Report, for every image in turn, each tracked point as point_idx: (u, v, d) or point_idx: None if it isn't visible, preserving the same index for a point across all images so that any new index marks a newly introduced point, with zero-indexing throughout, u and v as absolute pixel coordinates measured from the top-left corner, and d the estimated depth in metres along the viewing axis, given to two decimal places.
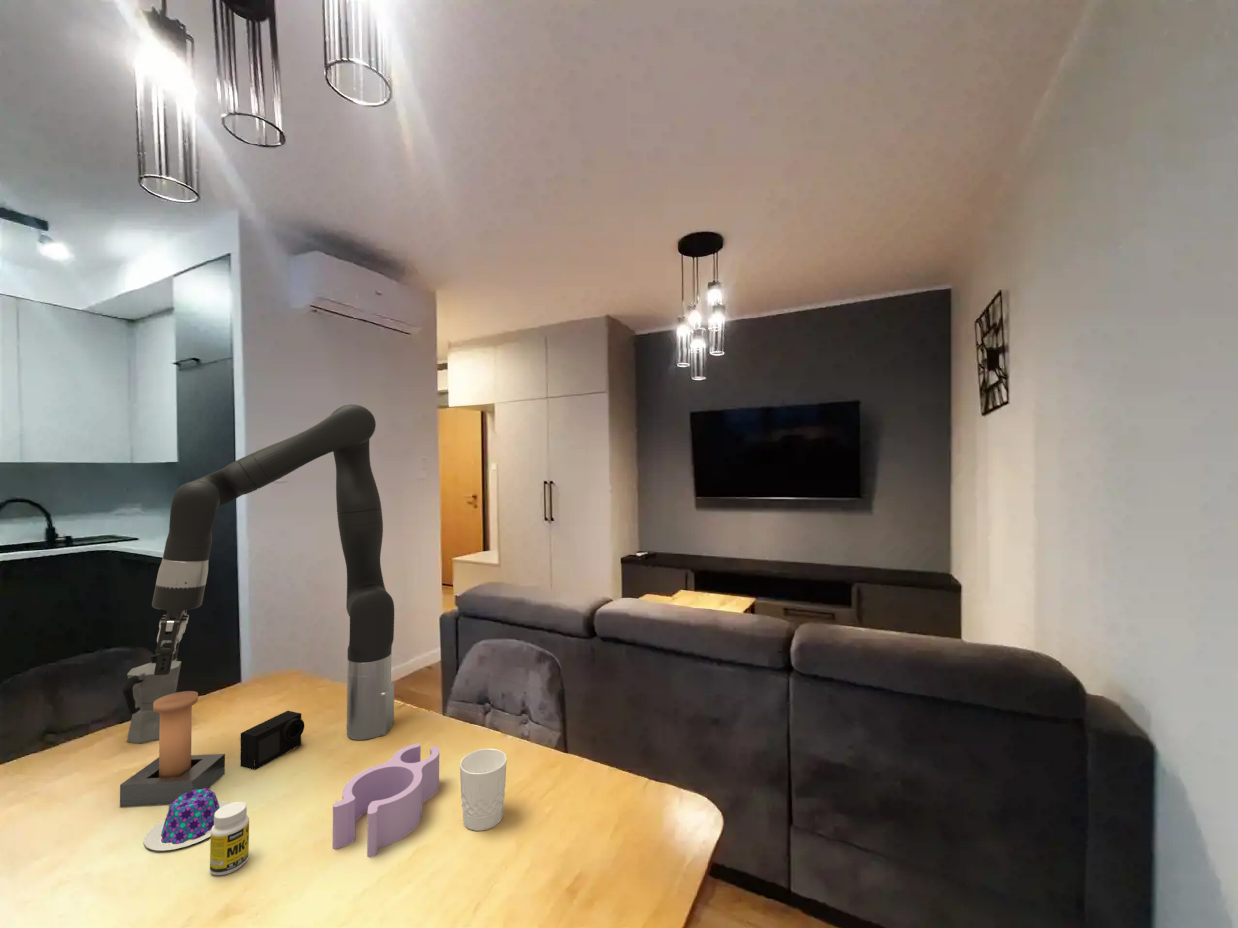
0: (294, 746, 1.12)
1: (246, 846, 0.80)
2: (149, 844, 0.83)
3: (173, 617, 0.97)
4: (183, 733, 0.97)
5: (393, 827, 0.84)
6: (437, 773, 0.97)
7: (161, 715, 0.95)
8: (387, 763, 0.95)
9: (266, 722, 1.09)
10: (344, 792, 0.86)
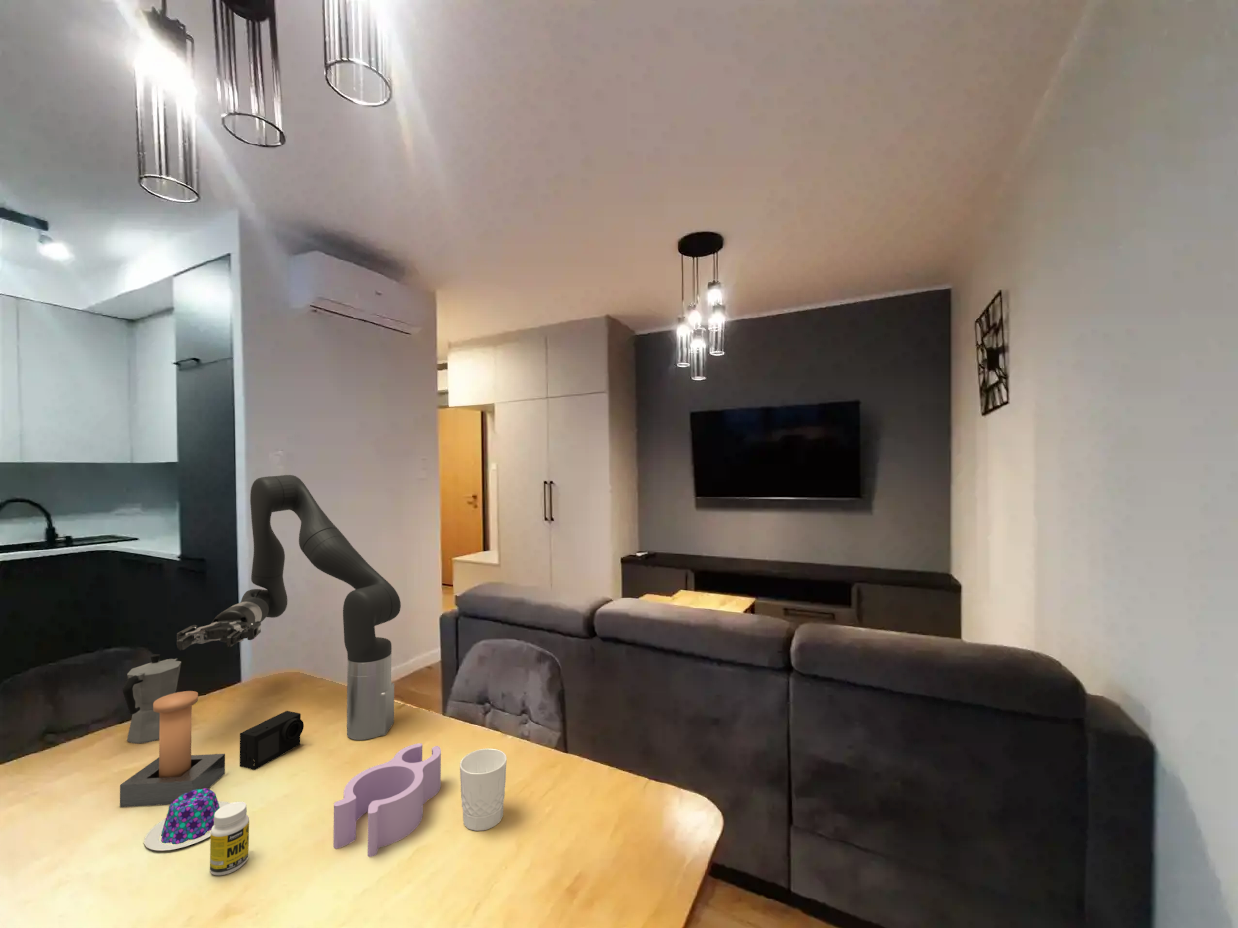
0: (293, 746, 1.12)
1: (246, 846, 0.80)
2: (149, 844, 0.83)
3: None
4: (183, 733, 0.97)
5: (394, 827, 0.84)
6: (438, 773, 0.97)
7: (161, 715, 0.95)
8: (389, 763, 0.95)
9: (266, 722, 1.09)
10: (345, 791, 0.86)
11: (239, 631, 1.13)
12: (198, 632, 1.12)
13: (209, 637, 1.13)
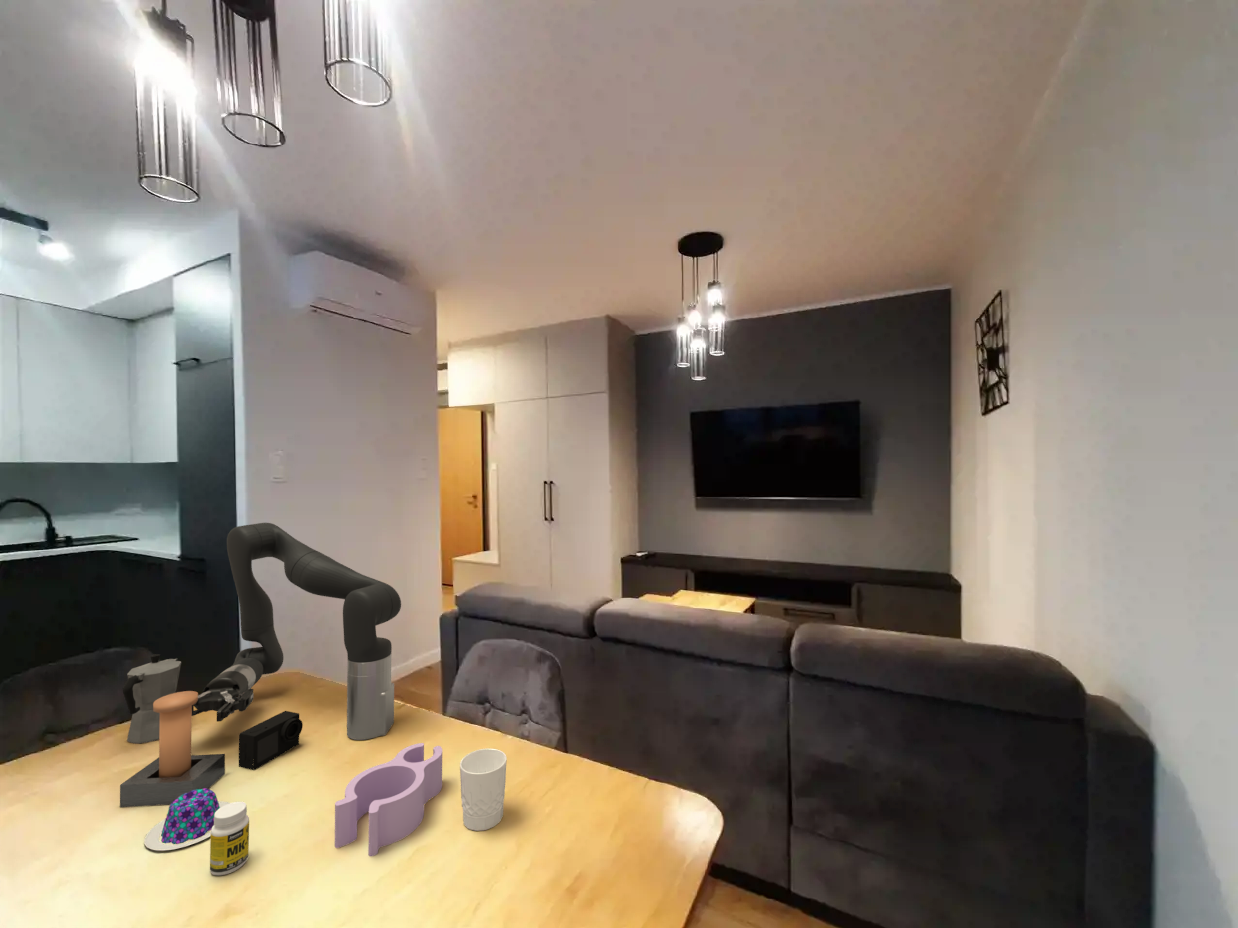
0: (292, 746, 1.12)
1: (246, 846, 0.80)
2: (149, 844, 0.83)
3: None
4: (183, 733, 0.97)
5: (394, 827, 0.84)
6: (440, 773, 0.97)
7: (161, 715, 0.95)
8: (390, 762, 0.95)
9: (265, 722, 1.09)
10: (346, 791, 0.86)
11: (230, 703, 1.09)
12: None
13: (199, 709, 1.09)
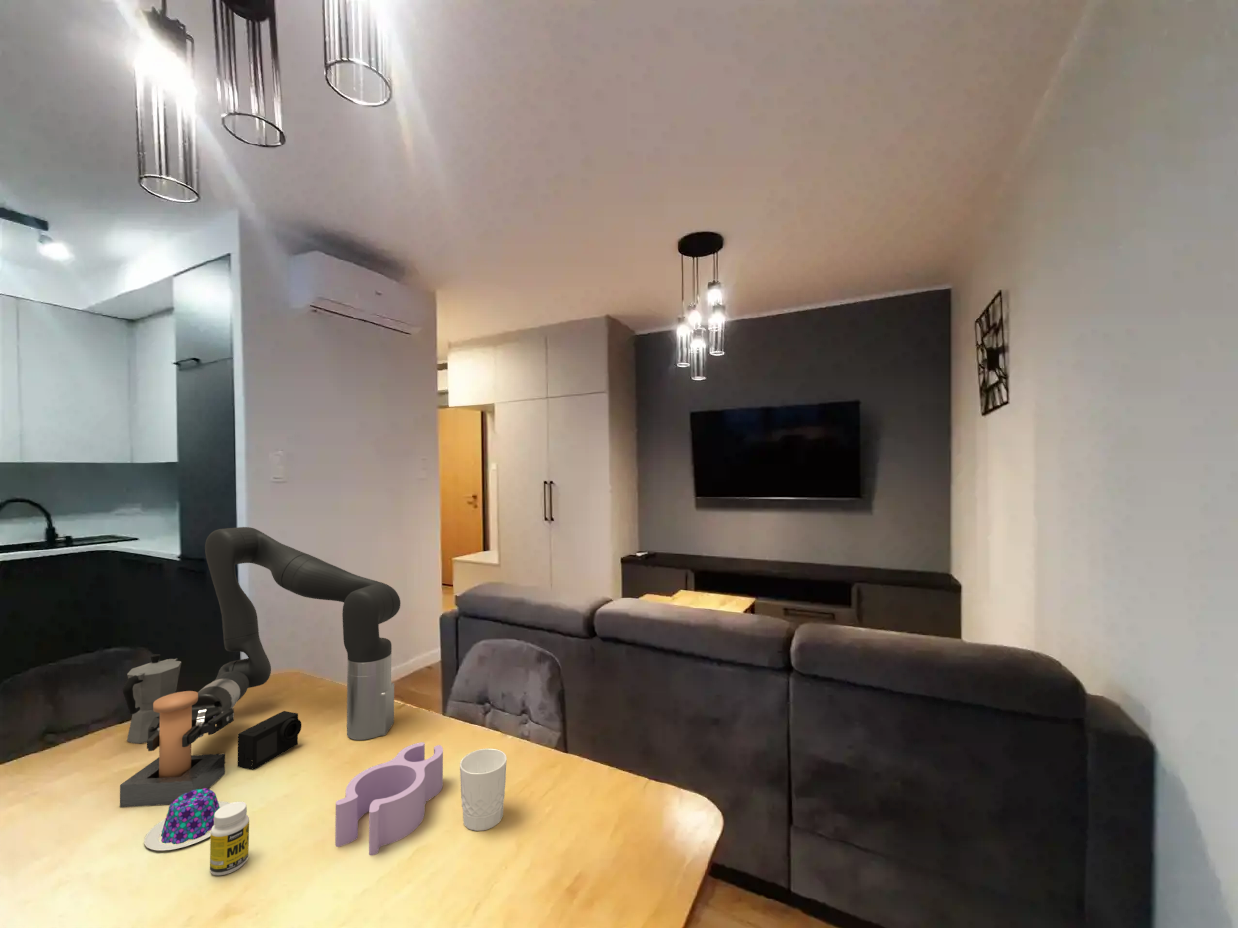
0: (291, 746, 1.12)
1: (246, 846, 0.80)
2: (149, 844, 0.83)
3: None
4: (183, 733, 0.97)
5: (395, 826, 0.84)
6: (440, 772, 0.97)
7: (161, 715, 0.95)
8: (391, 761, 0.95)
9: (263, 722, 1.09)
10: (347, 790, 0.87)
11: (197, 726, 0.99)
12: None
13: None
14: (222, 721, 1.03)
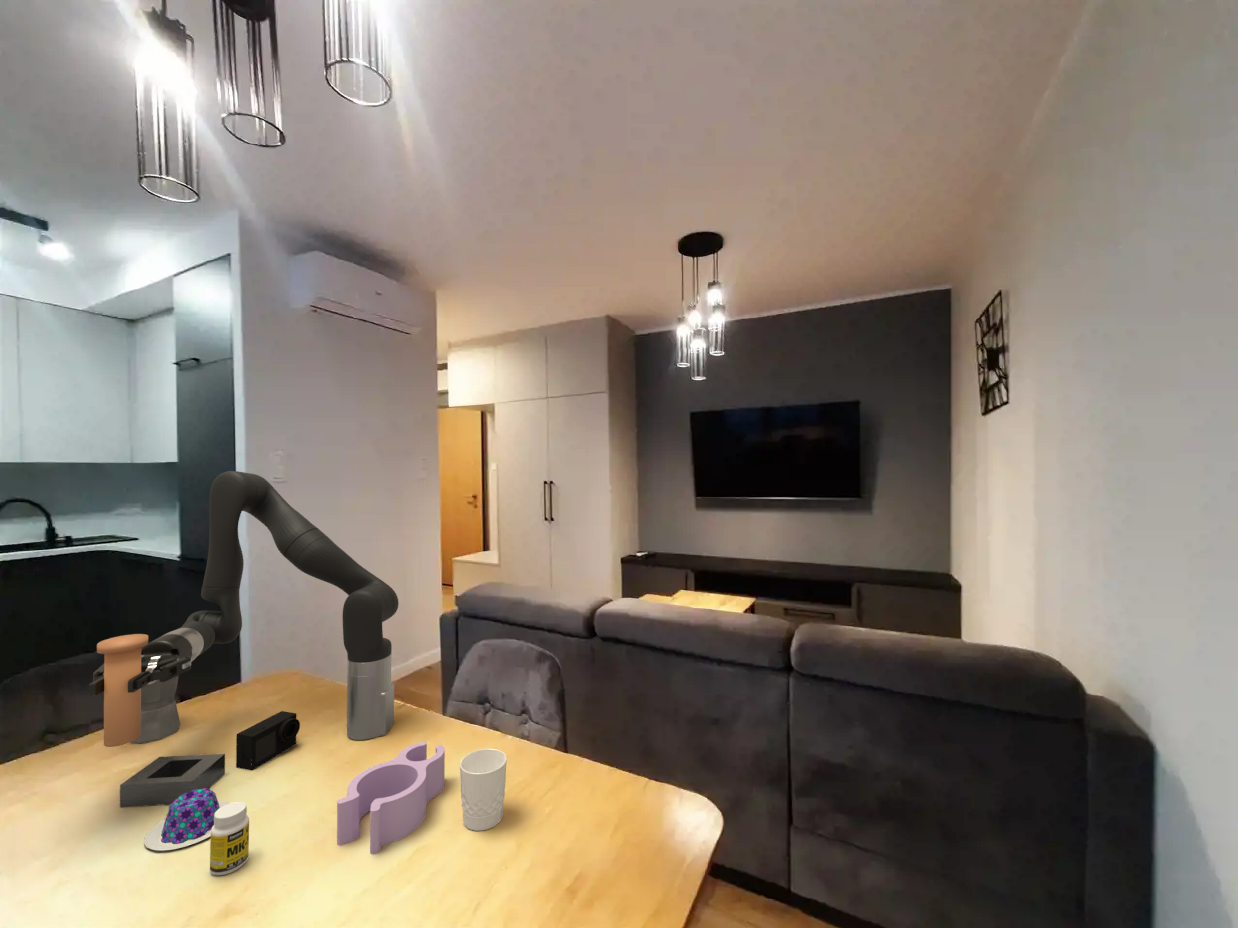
0: (289, 746, 1.12)
1: (246, 846, 0.80)
2: (149, 844, 0.83)
3: None
4: None
5: (396, 825, 0.84)
6: (442, 772, 0.98)
7: (105, 657, 0.87)
8: (393, 761, 0.95)
9: (262, 722, 1.09)
10: (349, 789, 0.87)
11: (147, 671, 0.91)
12: None
13: None
14: (176, 668, 0.94)
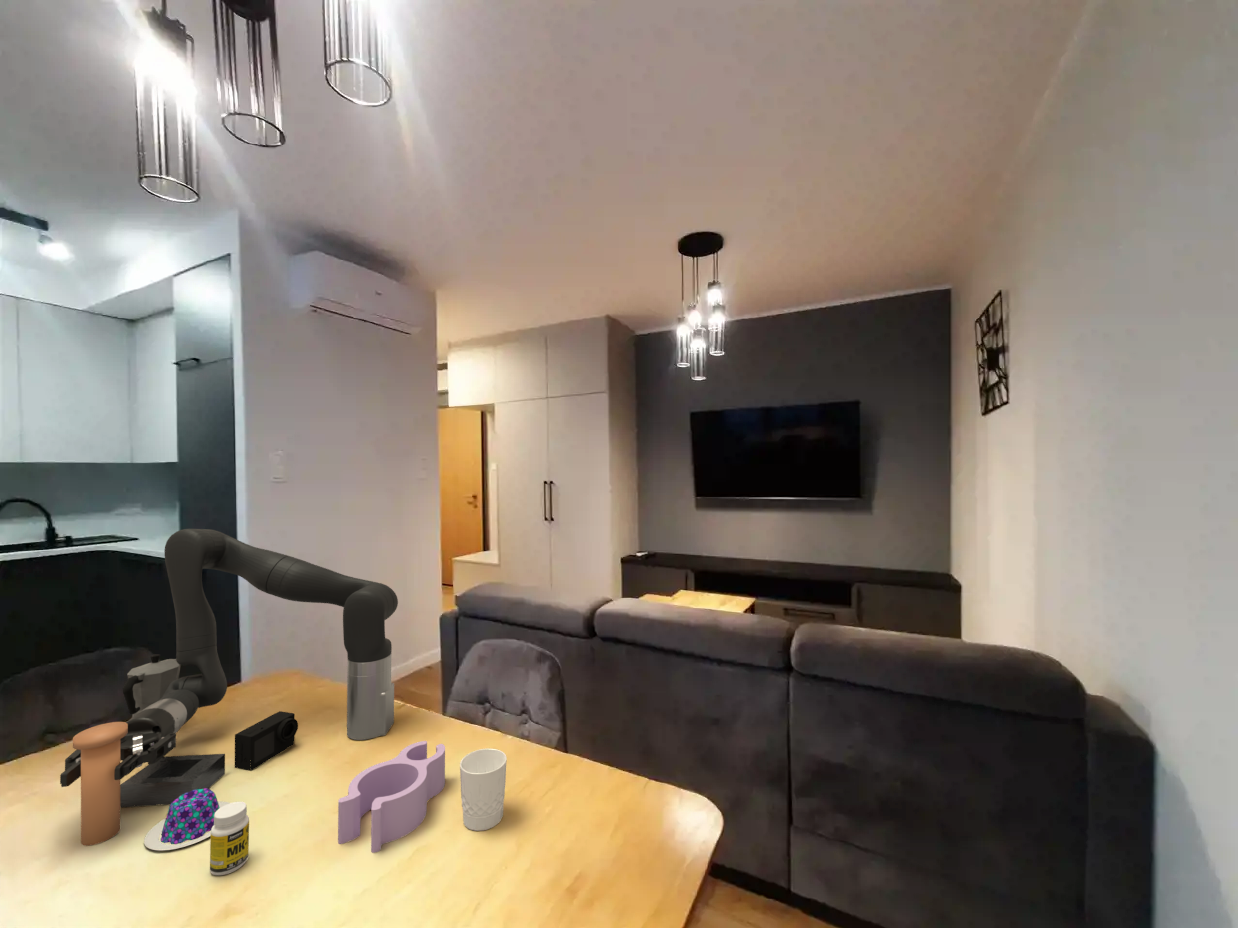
0: (288, 746, 1.12)
1: (246, 846, 0.80)
2: (149, 843, 0.83)
3: None
4: (109, 771, 0.84)
5: (397, 824, 0.85)
6: (442, 771, 0.98)
7: (82, 752, 0.83)
8: (393, 760, 0.96)
9: (260, 722, 1.09)
10: (350, 788, 0.87)
11: (135, 754, 0.88)
12: None
13: None
14: (164, 748, 0.91)
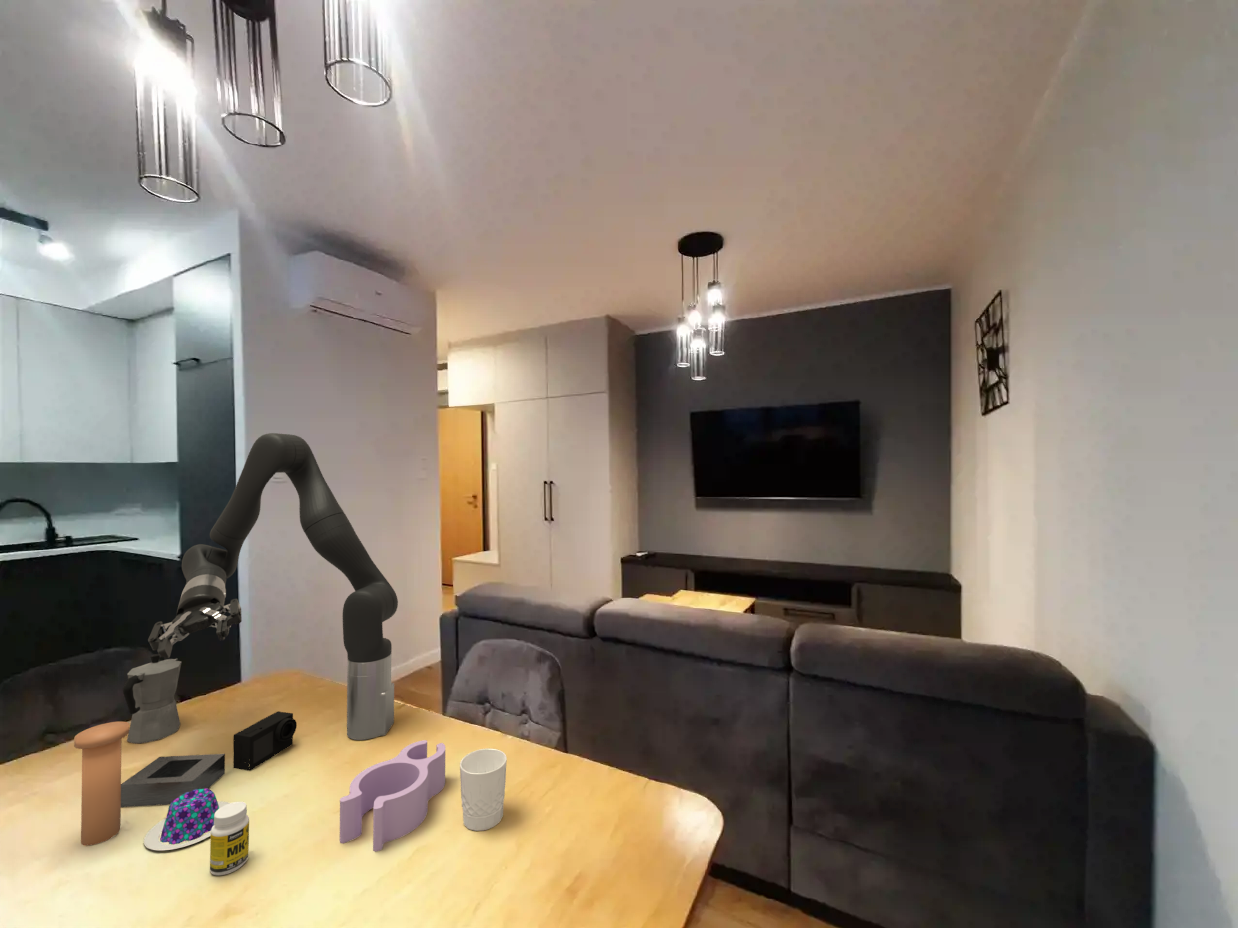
0: (286, 746, 1.12)
1: (246, 846, 0.80)
2: (148, 842, 0.83)
3: None
4: (110, 771, 0.84)
5: (399, 822, 0.85)
6: (443, 770, 0.98)
7: (83, 751, 0.83)
8: (394, 759, 0.96)
9: (258, 723, 1.09)
10: (351, 787, 0.87)
11: (223, 620, 1.02)
12: (173, 632, 1.00)
13: (187, 632, 1.02)
14: (238, 610, 1.06)
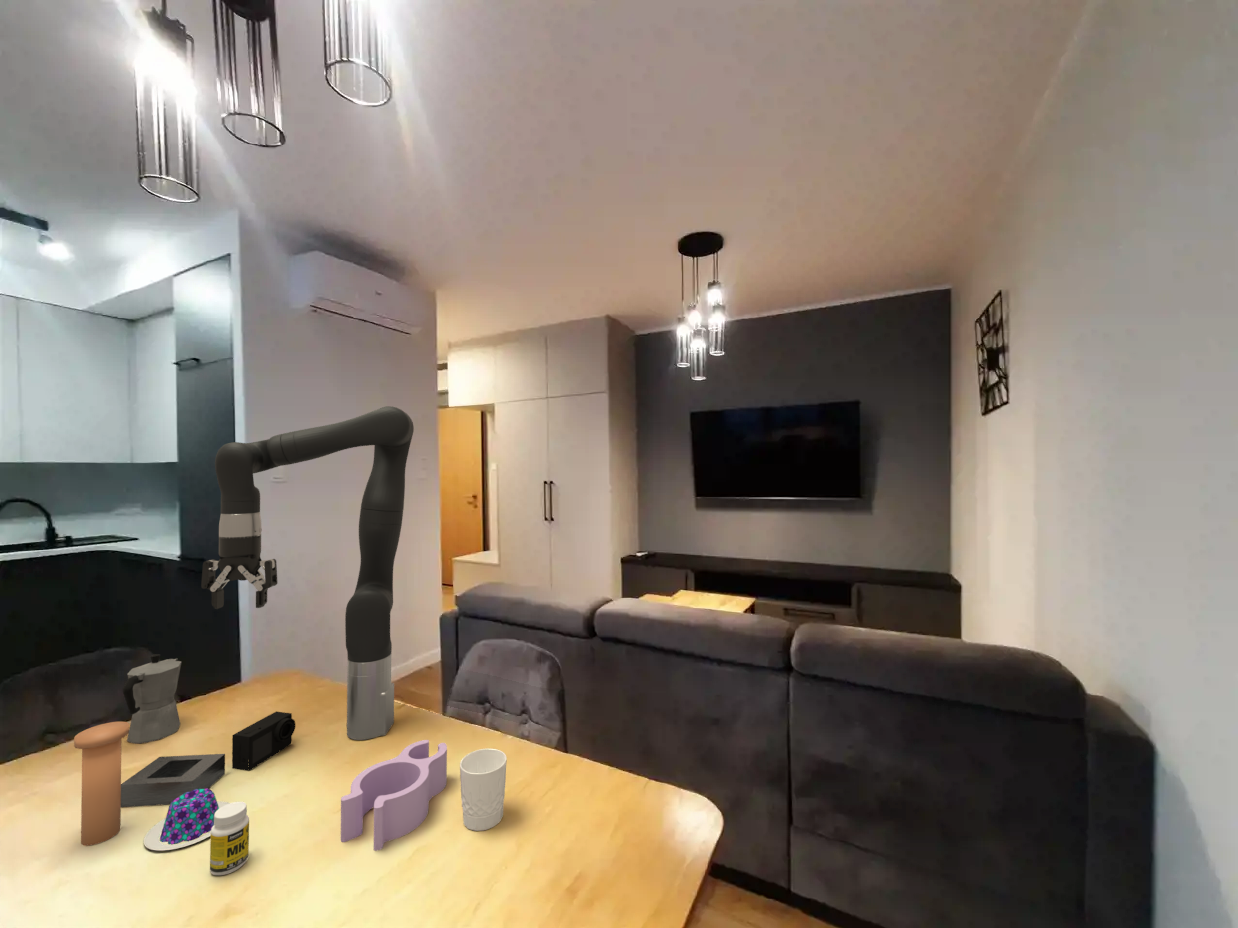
0: (285, 746, 1.12)
1: (246, 846, 0.80)
2: (148, 841, 0.83)
3: None
4: (110, 771, 0.84)
5: (399, 822, 0.85)
6: (444, 769, 0.98)
7: (83, 751, 0.83)
8: (395, 759, 0.96)
9: (257, 723, 1.09)
10: (352, 786, 0.88)
11: None
12: (220, 584, 1.12)
13: None
14: (273, 574, 1.14)
